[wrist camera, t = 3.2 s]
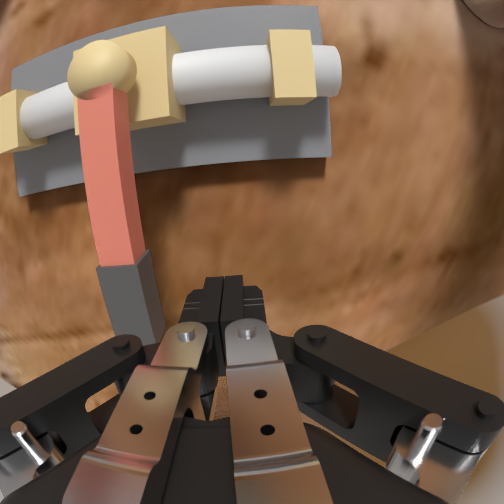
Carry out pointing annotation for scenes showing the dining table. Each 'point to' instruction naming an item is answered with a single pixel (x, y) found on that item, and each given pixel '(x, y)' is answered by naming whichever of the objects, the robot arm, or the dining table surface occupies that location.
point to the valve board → (204, 118)
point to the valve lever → (114, 189)
